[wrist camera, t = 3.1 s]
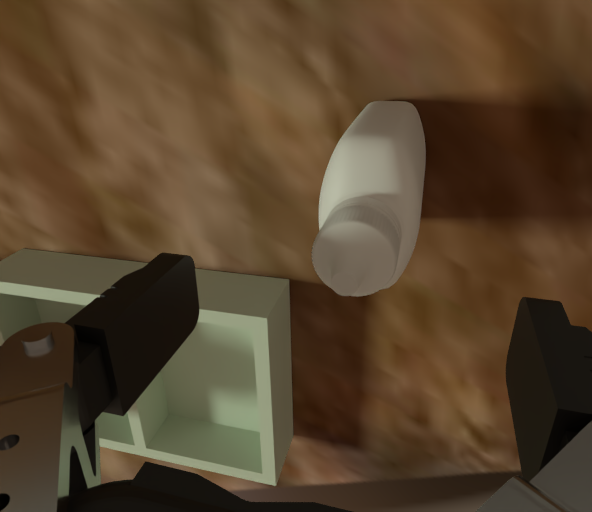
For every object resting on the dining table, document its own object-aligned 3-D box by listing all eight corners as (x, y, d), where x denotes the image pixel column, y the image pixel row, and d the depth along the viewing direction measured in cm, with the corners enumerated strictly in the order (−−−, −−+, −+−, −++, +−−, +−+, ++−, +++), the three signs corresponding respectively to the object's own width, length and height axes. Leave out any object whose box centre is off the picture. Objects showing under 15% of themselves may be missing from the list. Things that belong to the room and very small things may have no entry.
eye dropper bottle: (320, 185, 24) (229, 315, 14) (379, 81, 21) (322, 145, 11) (395, 230, 24) (361, 394, 14) (465, 132, 21) (489, 245, 11)
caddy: (23, 248, 31) (-191, 367, 21) (289, 279, 27) (191, 450, 16) (65, 390, 36) (-87, 542, 26) (293, 435, 32) (222, 639, 22)
